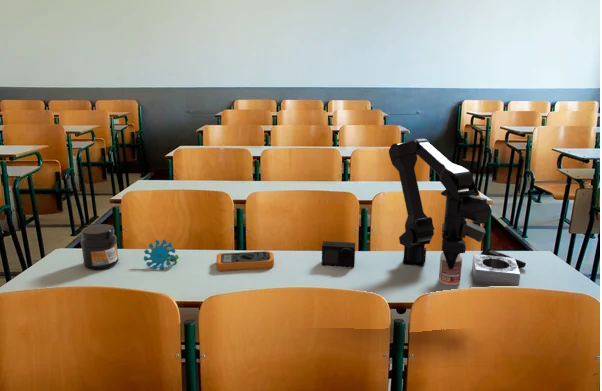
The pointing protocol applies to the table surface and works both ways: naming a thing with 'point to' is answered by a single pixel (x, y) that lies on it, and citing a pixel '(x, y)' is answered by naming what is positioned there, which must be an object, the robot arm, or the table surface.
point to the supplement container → (99, 247)
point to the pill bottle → (450, 271)
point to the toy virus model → (160, 255)
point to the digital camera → (338, 254)
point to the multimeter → (244, 261)
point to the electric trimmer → (494, 253)
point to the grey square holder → (495, 271)
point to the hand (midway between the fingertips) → (450, 263)
